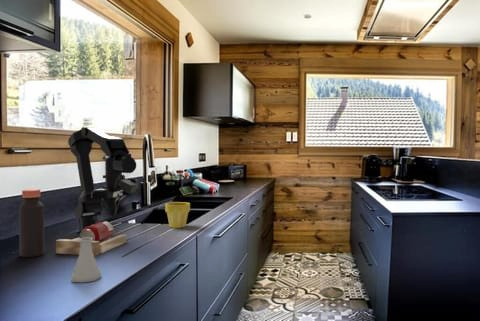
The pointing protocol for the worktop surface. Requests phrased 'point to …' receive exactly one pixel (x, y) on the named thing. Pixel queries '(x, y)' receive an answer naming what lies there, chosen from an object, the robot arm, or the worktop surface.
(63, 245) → the rest
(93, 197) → the robot arm
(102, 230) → the soda can
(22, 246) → the bottle
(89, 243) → the flask
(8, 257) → the worktop surface
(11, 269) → the worktop surface
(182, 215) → the plant pot
